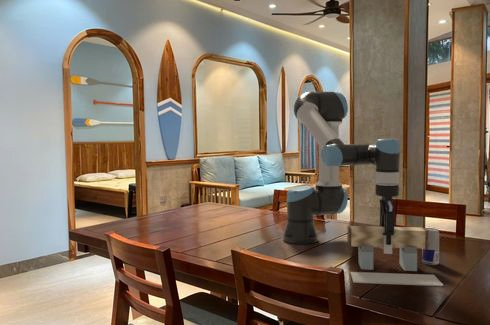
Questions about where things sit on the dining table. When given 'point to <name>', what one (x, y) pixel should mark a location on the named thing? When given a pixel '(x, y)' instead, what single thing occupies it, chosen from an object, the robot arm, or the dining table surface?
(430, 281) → the mat
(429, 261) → the energy drink
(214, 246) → the dining table surface
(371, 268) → the post left
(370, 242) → the rail
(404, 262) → the post right
